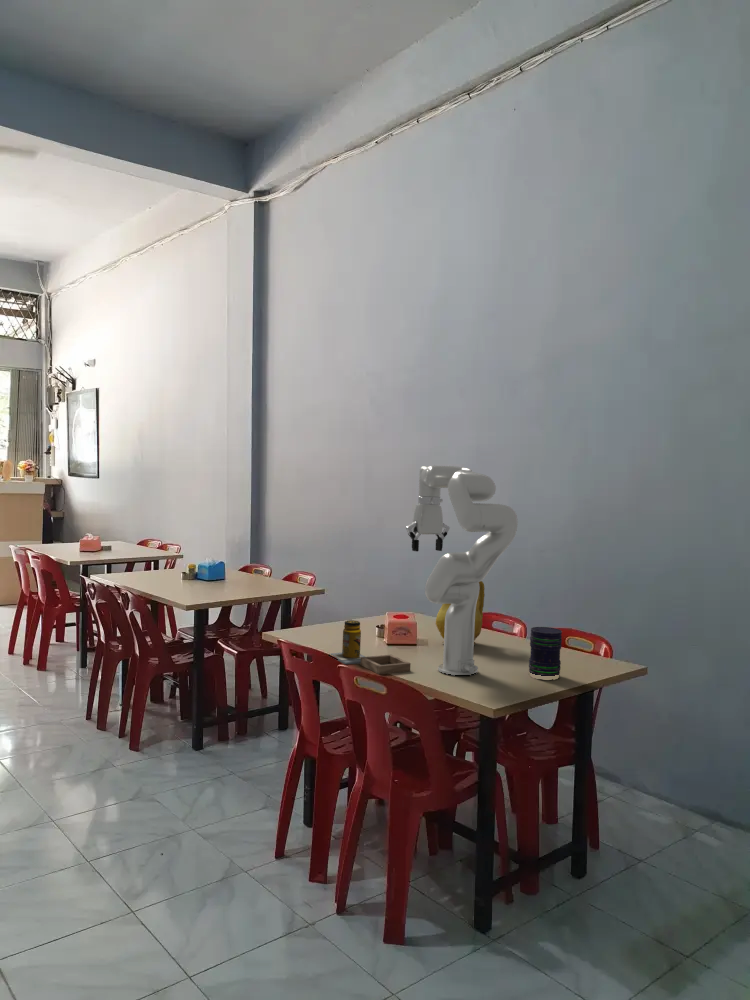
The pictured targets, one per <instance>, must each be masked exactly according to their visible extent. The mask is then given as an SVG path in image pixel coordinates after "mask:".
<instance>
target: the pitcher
mask: <svg viewBox="0 0 750 1000" xmlns="http://www.w3.org/2000/svg"><path fill="white" fill-rule="evenodd" d="M479 587H480V588H479V595H478V599H477V604H476V611H475V627H474V645H476V642H475V641H476V639H477V638H478V637H480V634H481V632H482V627H483V618H484V613H483V611H484V605H485V604H484V603H485V596H486V595H485V584H484V582H483V580H482V581H480V582H479ZM450 605H451V604H441V606H440V608H439V610H438V612H437V614H436V618H435V625H436V627H437V630H438V632H439V634H440V637H441V638H442V639H443V640H444V631H445V616H446V612H447V610H448V608H449V607H450Z"/></svg>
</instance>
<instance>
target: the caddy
mask: <svg viewBox="0 0 750 1000" xmlns="http://www.w3.org/2000/svg"><path fill="white" fill-rule="evenodd" d="M411 664H412V663H410V662H408V661H406V660H404V659H402V658H400V657H397V656H395V655H393V654H384V655H382V654H381V655H372V656H365V657H361V663H360V666H362V667H363V668H366V669H368V670H370V671H372V672H374V673H376V674H377V675H385V674H395V673H403V672H404V673H406V672H411Z"/></svg>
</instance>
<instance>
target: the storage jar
mask: <svg viewBox="0 0 750 1000" xmlns="http://www.w3.org/2000/svg"><path fill="white" fill-rule="evenodd" d="M562 633H563V631H562V630H561V629H558V628H555V627H548V626H534V627H531V628H530V636H529V640H530V642H529V646H530V655H529V656H530V657H529V659H528V671H529V672H530V673H532V674H535V675H541V676H555V675H559V676H560V674H561V664H562V663H561V662H562V660H561V649H562V647H563V646H562V642H563V639H562ZM529 672H528V673H529Z"/></svg>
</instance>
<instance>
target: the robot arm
mask: <svg viewBox="0 0 750 1000" xmlns="http://www.w3.org/2000/svg"><path fill="white" fill-rule="evenodd" d="M418 476H419V478H418V499H417V501H418V503H417V505H415V508H414V511H413V518H412V523H410V524H408V525H406V527H405V530H406V532H407V535H408V536H409V538H410V539H411V550H412V552H419V549H420V548H419V547H420V546H419V545H420V540H419V538H420V536H421V535H435V537H436V539H435V551H437V552H442V551H443V548H444V547H443V545H444V544H443V543H444V540H445V538H446V536H447V535H448V533H449V531H450V528H451V527H450V526H448V525H447V524H445V523H443V522H444V521H443V520H444V519H443V517H444V516H443V509H442V506H441V503H443V498H441V490H442V489H447V490H448V491H447V492H448V496H449V500H450V502H451V506H452V508H453V511H454V512H455V516H456V518H457V521H458V523H459V526H460V527H461V528H462V529H463V531H465V532H470V533H484V535H482V536H480V537H479V538H477V540H475V542H474V544H473V545H472V546H471V548H469V550H468V551H463V552H456V551H455V552H448V553H445V554H444V555H442V556H440V558H439V559H438V561H437V563H436V564H435V565H434V567H433V569H432V571H431V573H429V574H430V575H428V577H427V580H426V583H425V587H424V593H425V597H426V598H427V600H428V601H429V602H430V603H432V604H436V605H442V604H451V605H450V607H449V608H448V610H447V612H446V616H445V631H444V639H443V642H444V645H443V654H442V655H443V659H442V660H443V661H442V664H439V665H438V666H437V670H438V672H440V673H441V672H442V674H444V673H446V675H448V674H451V675H450V676H455V675H470V674H474V673H476V672H477V673H478V669H479V667H478V666H477V665H475V659H474V648H475V647H474V645H475V644H474V642H475V641H474V627H475V611H476V604H477V599H478V595H479V588H480V587H479V582H480V581H482V582H483V580H484V579H486V576H487V575H488V574H489V572H490V571H491V570H492V568H493V567H494V565H495V564H496V563H497V561H498V559H499V558H500V557H501V556H502V554H503V553H504V552H506V550H508V548H509V547H510V545H511V544H512V542H513V541H514V539H515V537H516V535H517V534H516V533H517V531H518V523H519V521H518V515H517V513H516V511H515V510H514V508H513V507H511V506H508V505H506V504H503V503H502V504H500V503H481V502H486V501H489V500H491V499H492V498H493V497H494V495H495V494H496V490H497V488H496V487H497V486H496V483H495V480H493V479H492V478H491V477H490V476H488V475H486V474H482V473H478V472H474V471H473V470H472V469H470V468H467V467H463V466H454V465H452V466H451V465H424V466H423V465H422V466H421V467H420V468H419V474H418ZM473 502H474V503H473ZM475 502H476V503H475ZM477 502H478V503H477ZM477 673H476V674H477ZM474 675H475V674H474ZM470 676H471V675H470Z"/></svg>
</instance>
